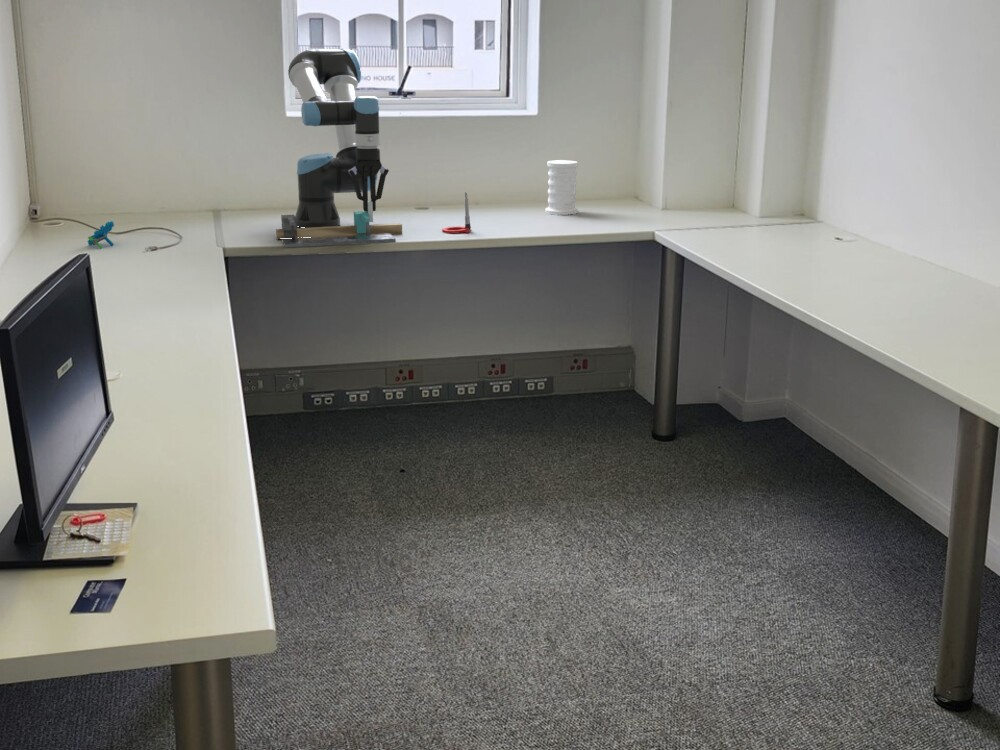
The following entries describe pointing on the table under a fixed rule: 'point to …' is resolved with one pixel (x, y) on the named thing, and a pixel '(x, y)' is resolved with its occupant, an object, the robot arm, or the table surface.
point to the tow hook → (467, 221)
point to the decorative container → (562, 187)
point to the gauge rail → (330, 229)
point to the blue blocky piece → (101, 235)
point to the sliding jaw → (362, 222)
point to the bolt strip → (338, 240)
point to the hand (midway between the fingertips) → (369, 221)
